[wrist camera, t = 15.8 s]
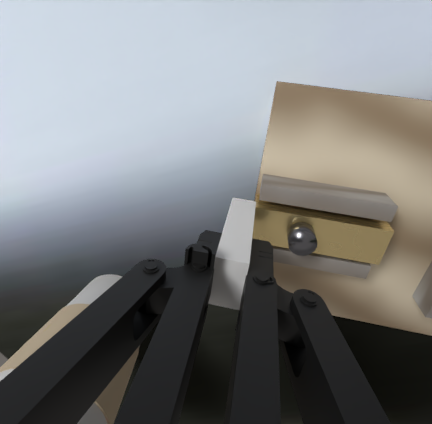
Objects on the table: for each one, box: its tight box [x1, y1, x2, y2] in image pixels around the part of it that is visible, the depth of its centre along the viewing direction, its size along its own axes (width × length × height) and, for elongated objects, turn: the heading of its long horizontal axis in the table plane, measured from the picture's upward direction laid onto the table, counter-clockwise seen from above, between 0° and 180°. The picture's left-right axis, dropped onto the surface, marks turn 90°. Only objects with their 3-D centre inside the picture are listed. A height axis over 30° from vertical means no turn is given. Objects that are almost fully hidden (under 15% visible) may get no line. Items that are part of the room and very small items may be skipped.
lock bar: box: [252, 194, 394, 265], centre depth 18 cm, size 2×8×3 cm, turn 84°
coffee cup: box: [0, 274, 140, 424], centre depth 21 cm, size 9×9×15 cm
